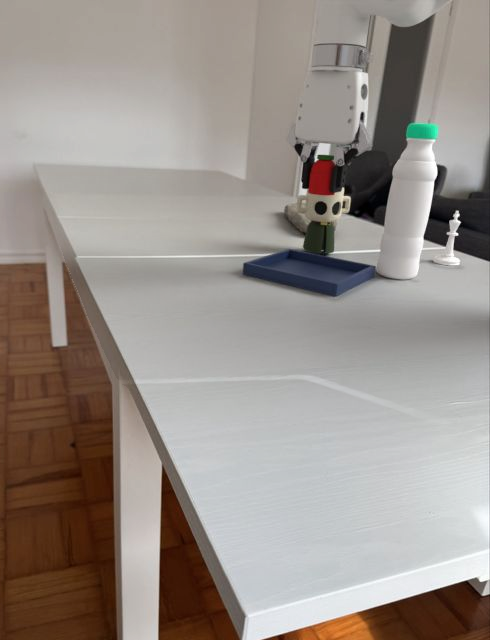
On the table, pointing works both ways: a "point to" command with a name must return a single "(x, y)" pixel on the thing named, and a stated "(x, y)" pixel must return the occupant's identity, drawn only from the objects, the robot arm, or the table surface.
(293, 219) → the elongated rock
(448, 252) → the chess piece
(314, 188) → the red sauce bottle
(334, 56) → the robot arm
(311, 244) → the character mug
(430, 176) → the water bottle
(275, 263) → the tray
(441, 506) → the table surface
